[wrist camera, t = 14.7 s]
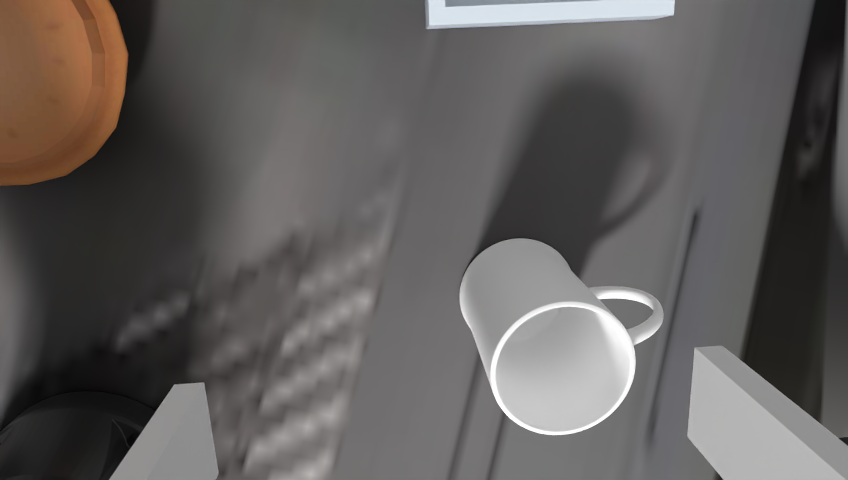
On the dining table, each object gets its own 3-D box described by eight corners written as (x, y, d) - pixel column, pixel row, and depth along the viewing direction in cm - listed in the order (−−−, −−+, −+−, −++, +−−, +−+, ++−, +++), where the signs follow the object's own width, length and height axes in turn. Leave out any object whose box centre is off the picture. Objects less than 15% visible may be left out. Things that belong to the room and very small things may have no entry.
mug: (613, 222, 43) (697, 275, 31) (620, 330, 45) (700, 416, 34) (451, 247, 43) (476, 310, 31) (466, 355, 45) (495, 451, 33)
